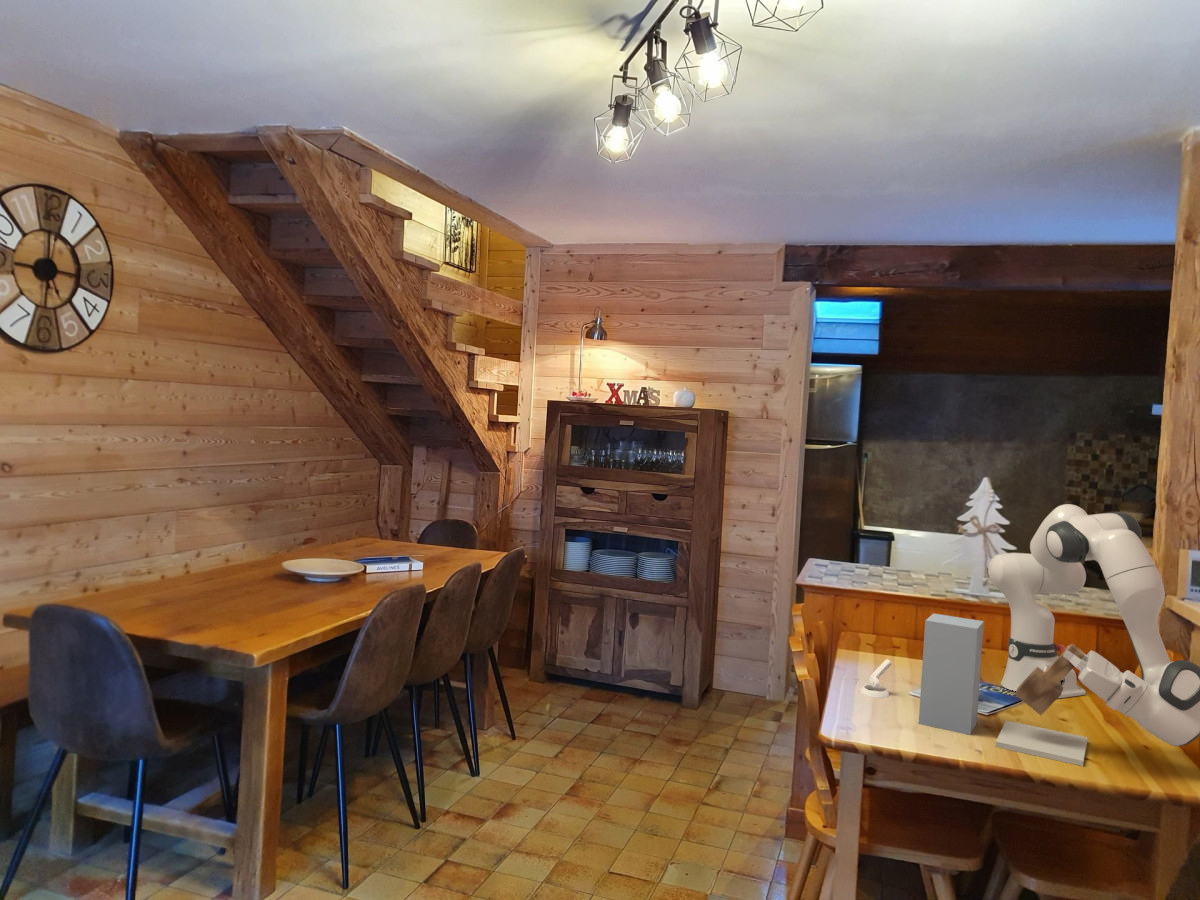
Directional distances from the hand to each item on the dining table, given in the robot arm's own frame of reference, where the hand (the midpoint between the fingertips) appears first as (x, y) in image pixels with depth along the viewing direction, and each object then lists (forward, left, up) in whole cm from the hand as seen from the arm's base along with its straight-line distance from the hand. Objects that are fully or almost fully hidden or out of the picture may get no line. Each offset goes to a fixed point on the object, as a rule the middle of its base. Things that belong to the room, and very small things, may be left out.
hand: (1065, 650), depth 205 cm
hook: (+24, -41, -24) cm, 53 cm away
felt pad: (+3, -2, -23) cm, 23 cm away
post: (+17, -17, -23) cm, 34 cm away
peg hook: (-1, +1, -8) cm, 8 cm away
